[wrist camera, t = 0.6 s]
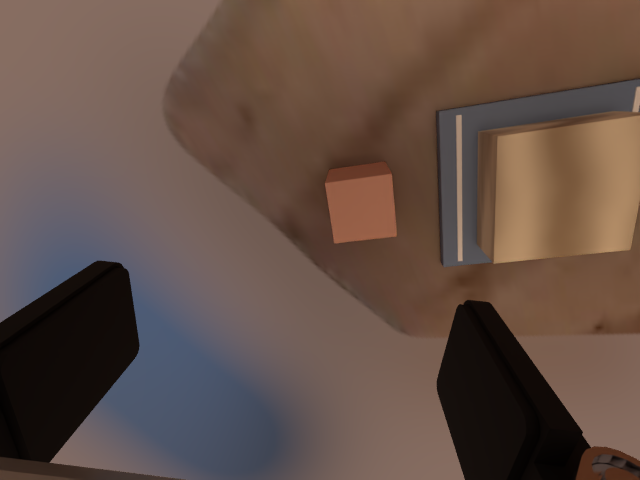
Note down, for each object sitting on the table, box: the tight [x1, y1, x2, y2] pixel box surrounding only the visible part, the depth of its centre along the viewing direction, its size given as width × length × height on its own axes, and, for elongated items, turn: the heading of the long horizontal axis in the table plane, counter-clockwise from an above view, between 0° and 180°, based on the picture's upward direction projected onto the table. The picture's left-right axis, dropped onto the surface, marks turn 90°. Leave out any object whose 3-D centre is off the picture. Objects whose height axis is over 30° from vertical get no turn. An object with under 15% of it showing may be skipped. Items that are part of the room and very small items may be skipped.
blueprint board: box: [436, 78, 640, 267], centre depth 29 cm, size 16×14×1 cm
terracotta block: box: [325, 161, 397, 243], centre depth 29 cm, size 5×5×6 cm
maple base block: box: [477, 111, 640, 263], centre depth 27 cm, size 10×10×4 cm
